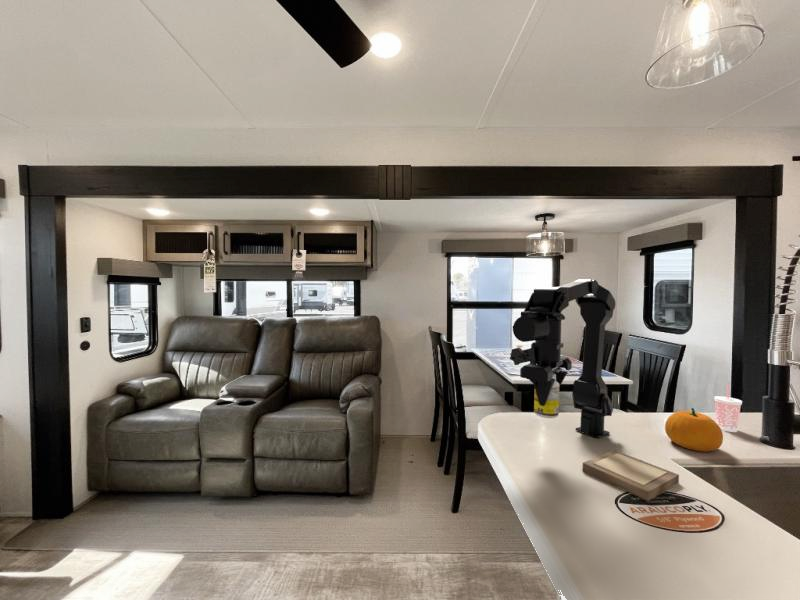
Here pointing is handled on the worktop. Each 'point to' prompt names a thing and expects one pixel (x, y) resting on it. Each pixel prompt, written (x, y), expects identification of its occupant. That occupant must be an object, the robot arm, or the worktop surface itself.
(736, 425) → the beverage cup
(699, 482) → the worktop surface
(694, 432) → the fruit
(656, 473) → the brown picture frame
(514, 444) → the worktop surface
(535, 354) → the robot arm
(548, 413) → the supplement bottle
